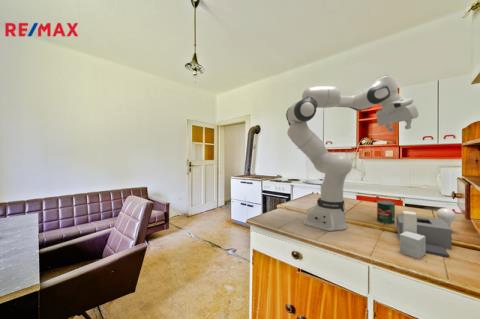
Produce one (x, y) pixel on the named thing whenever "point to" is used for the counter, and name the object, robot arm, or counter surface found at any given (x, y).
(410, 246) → the product box
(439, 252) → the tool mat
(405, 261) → the counter surface
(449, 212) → the lightbulb
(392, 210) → the canned tomato
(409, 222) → the beige rectangular block
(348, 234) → the counter surface
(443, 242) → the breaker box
